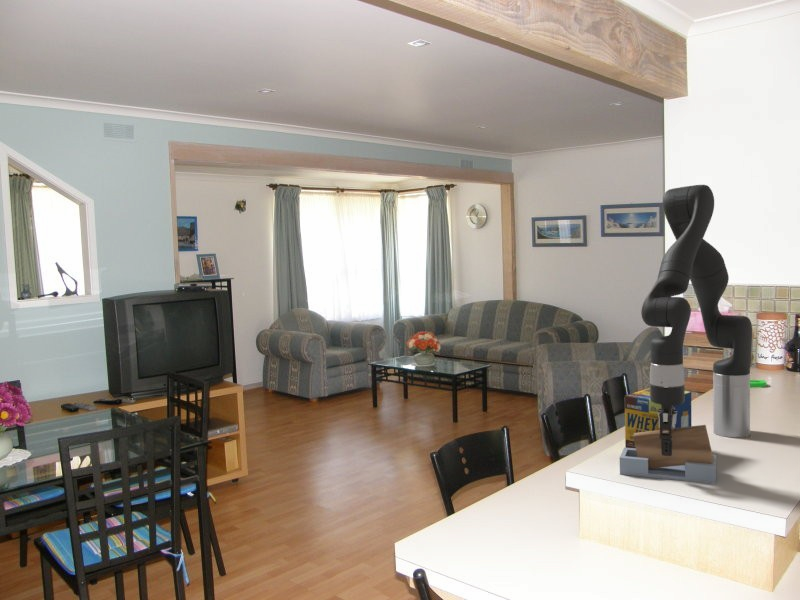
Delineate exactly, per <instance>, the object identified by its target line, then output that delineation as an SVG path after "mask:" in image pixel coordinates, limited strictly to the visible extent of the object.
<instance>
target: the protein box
mask: <svg viewBox="0 0 800 600" xmlns="http://www.w3.org/2000/svg"><path fill="white" fill-rule="evenodd" d="M659 408H661V405H660V404H656V403H653V402H652V401H651V400H650V387H648V388H645V389H642V390H640V391H639V390H638V391H636V392H633V393H628V394H625V395H624V438H625V439H624V440H625V441H624V442H625V447H624V448H635V443H634V439H633V435H634V433H639V432H647V431H656V430H659V418H658V411H659ZM675 409H677V416H676V424H675V428H682V427H690V426H692V392H691V391H687V390H685V401H684V403H682V404H679V405H675Z"/></svg>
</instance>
